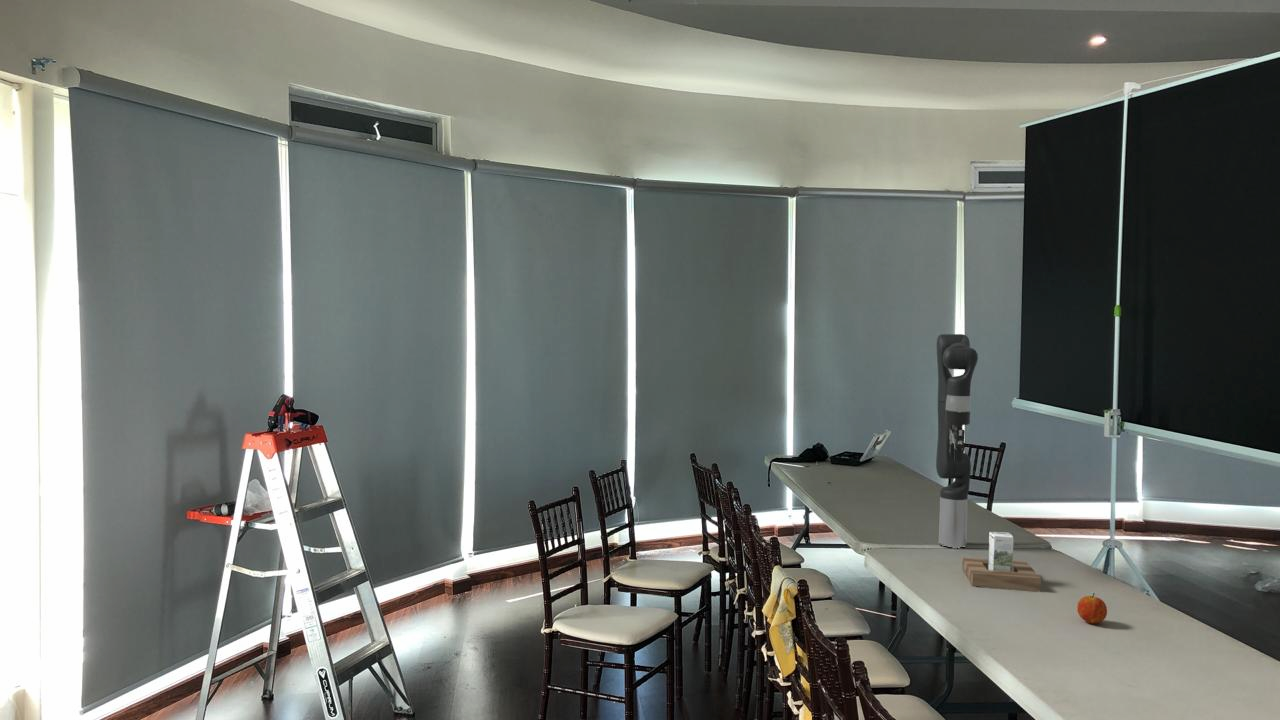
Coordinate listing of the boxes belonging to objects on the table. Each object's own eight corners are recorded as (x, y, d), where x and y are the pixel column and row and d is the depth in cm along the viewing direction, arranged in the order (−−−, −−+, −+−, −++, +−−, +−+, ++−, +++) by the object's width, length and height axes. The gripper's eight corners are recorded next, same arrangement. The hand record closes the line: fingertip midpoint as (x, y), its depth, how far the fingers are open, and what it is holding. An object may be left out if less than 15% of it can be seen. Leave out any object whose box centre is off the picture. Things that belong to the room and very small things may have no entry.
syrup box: (1006, 578, 271) (1008, 531, 271) (1012, 583, 265) (1013, 536, 265) (987, 577, 272) (988, 530, 272) (992, 582, 266) (994, 535, 266)
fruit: (1070, 619, 232) (1071, 590, 232) (1090, 617, 235) (1091, 587, 235) (1092, 628, 226) (1093, 597, 226) (1112, 625, 228) (1114, 595, 228)
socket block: (962, 569, 280) (962, 557, 280) (1025, 574, 276) (1026, 561, 276) (972, 586, 262) (972, 573, 261) (1040, 591, 258) (1040, 578, 258)
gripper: (942, 406, 291) (940, 454, 292) (949, 411, 277) (946, 462, 278) (966, 407, 290) (964, 456, 291) (974, 412, 276) (971, 463, 277)
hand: (955, 458), depth 284 cm, fingers open, 8 cm apart
